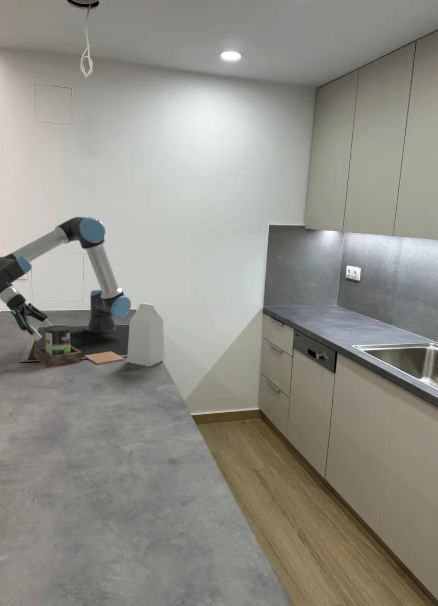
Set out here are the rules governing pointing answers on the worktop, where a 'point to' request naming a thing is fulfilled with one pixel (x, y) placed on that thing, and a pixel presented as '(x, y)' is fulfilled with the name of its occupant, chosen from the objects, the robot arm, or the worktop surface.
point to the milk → (146, 336)
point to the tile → (104, 357)
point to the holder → (57, 357)
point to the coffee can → (57, 340)
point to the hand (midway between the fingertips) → (47, 335)
